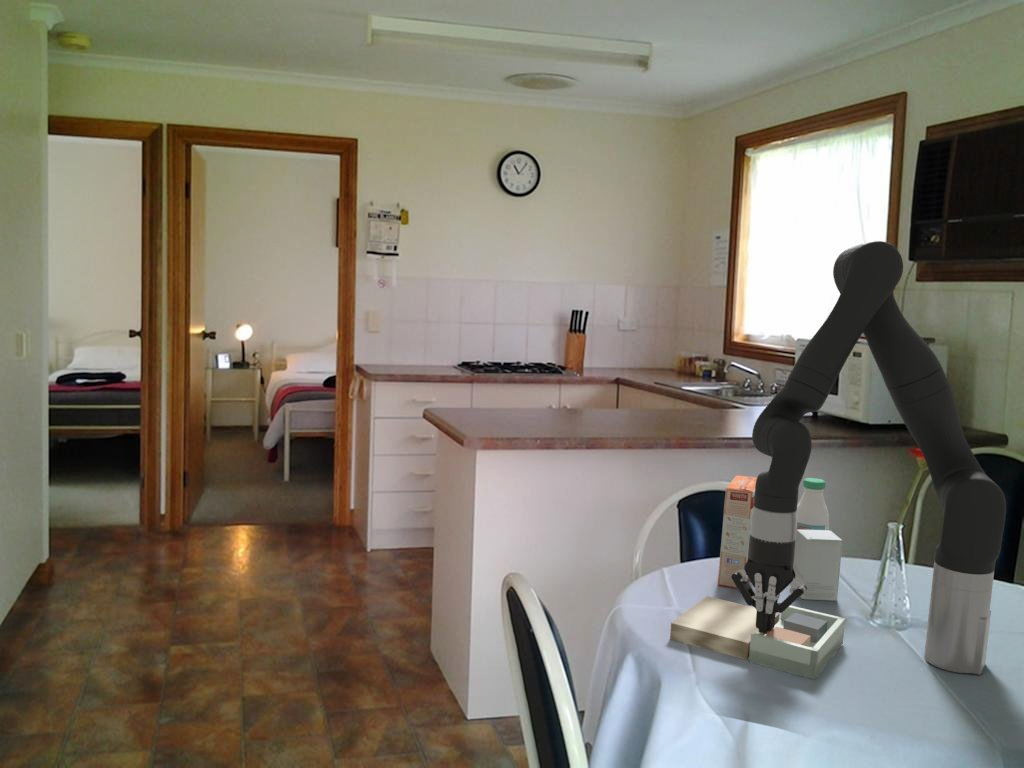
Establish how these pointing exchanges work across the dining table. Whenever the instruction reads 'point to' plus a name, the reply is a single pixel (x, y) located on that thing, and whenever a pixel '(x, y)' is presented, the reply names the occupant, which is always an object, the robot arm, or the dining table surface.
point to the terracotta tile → (790, 636)
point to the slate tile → (806, 626)
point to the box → (798, 647)
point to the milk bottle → (812, 506)
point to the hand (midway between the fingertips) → (764, 631)
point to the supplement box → (818, 563)
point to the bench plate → (718, 627)
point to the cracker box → (736, 528)
